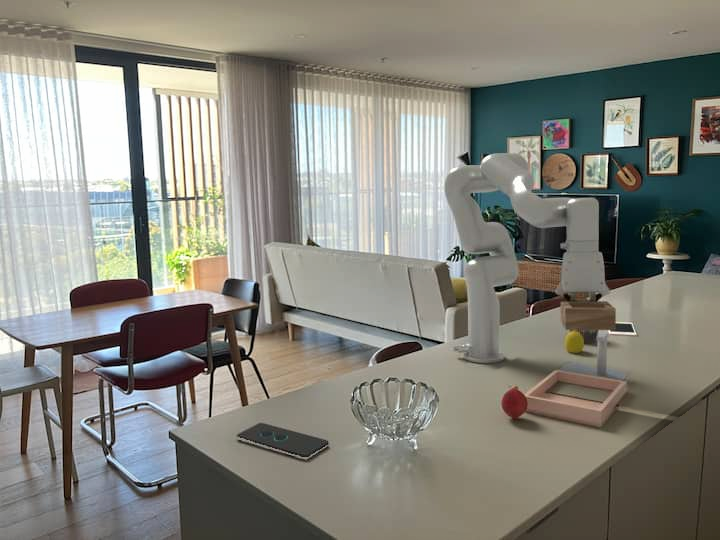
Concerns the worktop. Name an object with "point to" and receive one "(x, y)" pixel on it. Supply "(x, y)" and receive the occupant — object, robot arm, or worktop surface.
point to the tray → (575, 399)
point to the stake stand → (601, 363)
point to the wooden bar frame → (588, 315)
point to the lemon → (574, 342)
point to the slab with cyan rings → (283, 439)
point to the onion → (514, 403)
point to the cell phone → (623, 329)
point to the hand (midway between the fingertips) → (582, 318)
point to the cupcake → (588, 335)
